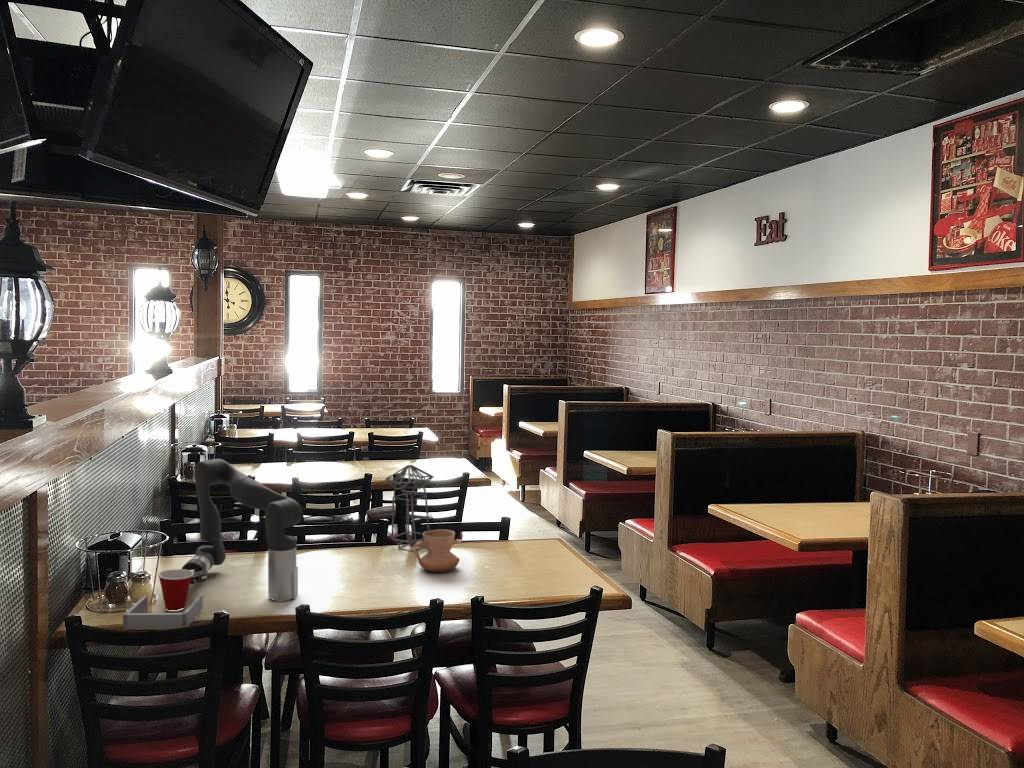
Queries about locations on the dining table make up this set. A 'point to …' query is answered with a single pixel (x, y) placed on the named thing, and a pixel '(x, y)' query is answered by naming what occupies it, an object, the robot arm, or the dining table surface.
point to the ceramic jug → (438, 551)
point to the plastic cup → (175, 587)
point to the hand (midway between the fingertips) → (178, 585)
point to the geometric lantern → (402, 474)
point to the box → (159, 616)
